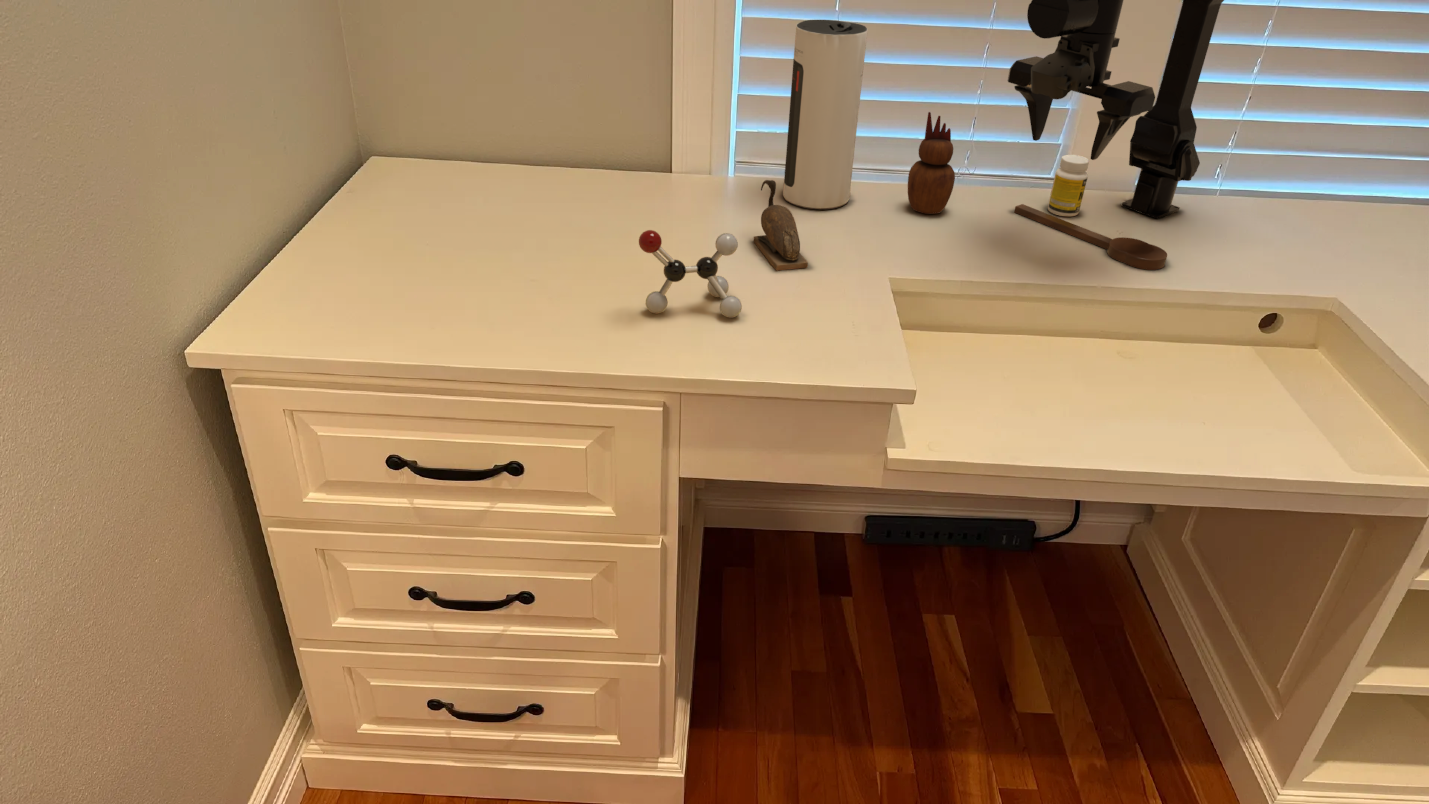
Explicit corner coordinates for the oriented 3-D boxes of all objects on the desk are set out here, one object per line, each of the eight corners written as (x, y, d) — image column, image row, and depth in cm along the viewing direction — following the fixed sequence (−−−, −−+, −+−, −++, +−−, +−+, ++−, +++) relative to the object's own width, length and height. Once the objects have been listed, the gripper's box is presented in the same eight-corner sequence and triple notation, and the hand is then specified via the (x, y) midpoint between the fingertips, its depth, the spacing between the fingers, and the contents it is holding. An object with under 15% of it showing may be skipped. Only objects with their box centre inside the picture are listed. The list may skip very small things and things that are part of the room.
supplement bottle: (1080, 218, 150) (1093, 165, 146) (1048, 215, 151) (1060, 162, 147) (1076, 207, 154) (1089, 155, 150) (1045, 204, 155) (1057, 152, 151)
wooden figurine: (900, 212, 150) (914, 114, 142) (908, 200, 154) (923, 104, 146) (944, 220, 148) (962, 121, 140) (951, 207, 152) (969, 110, 144)
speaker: (785, 183, 159) (799, 12, 144) (850, 188, 158) (870, 17, 143) (780, 207, 150) (793, 28, 136) (848, 213, 149) (869, 33, 135)
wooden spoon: (1005, 215, 151) (1007, 205, 150) (1029, 207, 154) (1031, 198, 153) (1149, 273, 135) (1152, 263, 134) (1172, 263, 138) (1176, 253, 137)
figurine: (743, 229, 142) (746, 171, 137) (772, 227, 143) (777, 169, 138) (776, 271, 131) (781, 209, 126) (808, 268, 132) (814, 206, 127)
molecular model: (744, 320, 119) (749, 238, 113) (646, 330, 116) (646, 246, 110) (724, 290, 125) (728, 211, 120) (632, 299, 123) (631, 218, 117)
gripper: (992, 21, 126) (971, 140, 135) (1120, 53, 114) (1088, 182, 123) (1045, 12, 132) (1022, 127, 141) (1173, 41, 120) (1138, 165, 129)
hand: (1064, 149), depth 133 cm, fingers open, 9 cm apart
